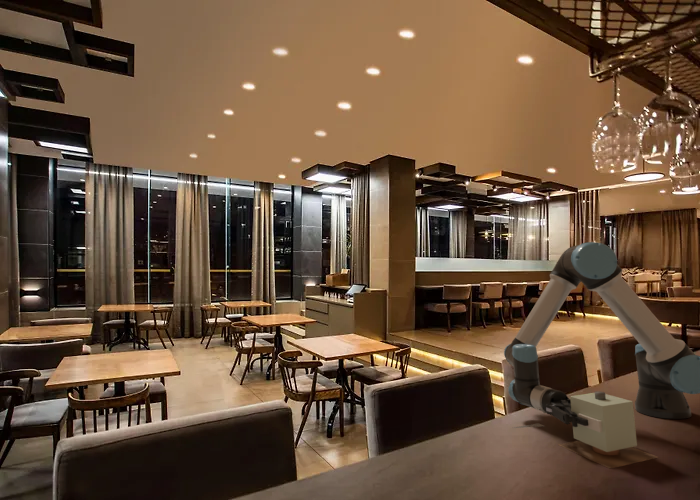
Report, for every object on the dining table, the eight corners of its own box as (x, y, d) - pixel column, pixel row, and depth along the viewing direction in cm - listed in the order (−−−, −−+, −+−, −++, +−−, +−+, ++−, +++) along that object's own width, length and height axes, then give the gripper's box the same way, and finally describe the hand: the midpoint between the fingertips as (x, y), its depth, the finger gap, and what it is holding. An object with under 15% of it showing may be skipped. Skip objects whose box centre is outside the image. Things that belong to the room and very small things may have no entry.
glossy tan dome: (609, 445, 110) (607, 432, 110) (625, 454, 104) (623, 440, 104) (587, 446, 109) (586, 433, 110) (602, 456, 103) (600, 441, 104)
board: (602, 440, 116) (602, 435, 116) (659, 462, 101) (659, 457, 101) (557, 449, 112) (557, 444, 112) (610, 473, 96) (609, 468, 97)
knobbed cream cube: (602, 432, 113) (598, 386, 114) (637, 445, 103) (632, 394, 105) (573, 438, 110) (569, 390, 111) (606, 452, 100) (601, 399, 102)
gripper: (580, 409, 127) (651, 432, 106) (520, 418, 121) (583, 446, 100) (578, 384, 128) (648, 402, 107) (518, 392, 121) (580, 414, 100)
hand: (617, 423), depth 103 cm, fingers closed on knobbed cream cube, 10 cm apart
